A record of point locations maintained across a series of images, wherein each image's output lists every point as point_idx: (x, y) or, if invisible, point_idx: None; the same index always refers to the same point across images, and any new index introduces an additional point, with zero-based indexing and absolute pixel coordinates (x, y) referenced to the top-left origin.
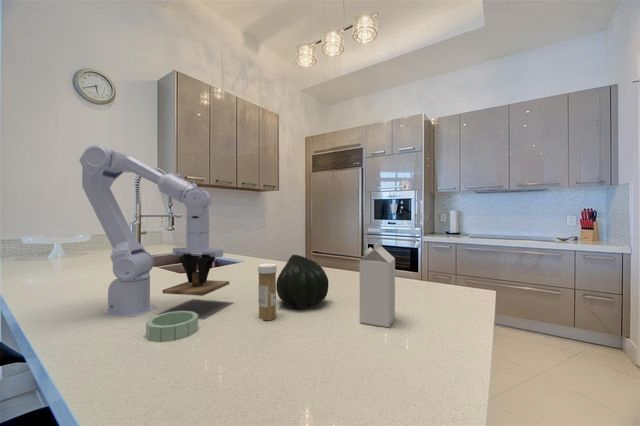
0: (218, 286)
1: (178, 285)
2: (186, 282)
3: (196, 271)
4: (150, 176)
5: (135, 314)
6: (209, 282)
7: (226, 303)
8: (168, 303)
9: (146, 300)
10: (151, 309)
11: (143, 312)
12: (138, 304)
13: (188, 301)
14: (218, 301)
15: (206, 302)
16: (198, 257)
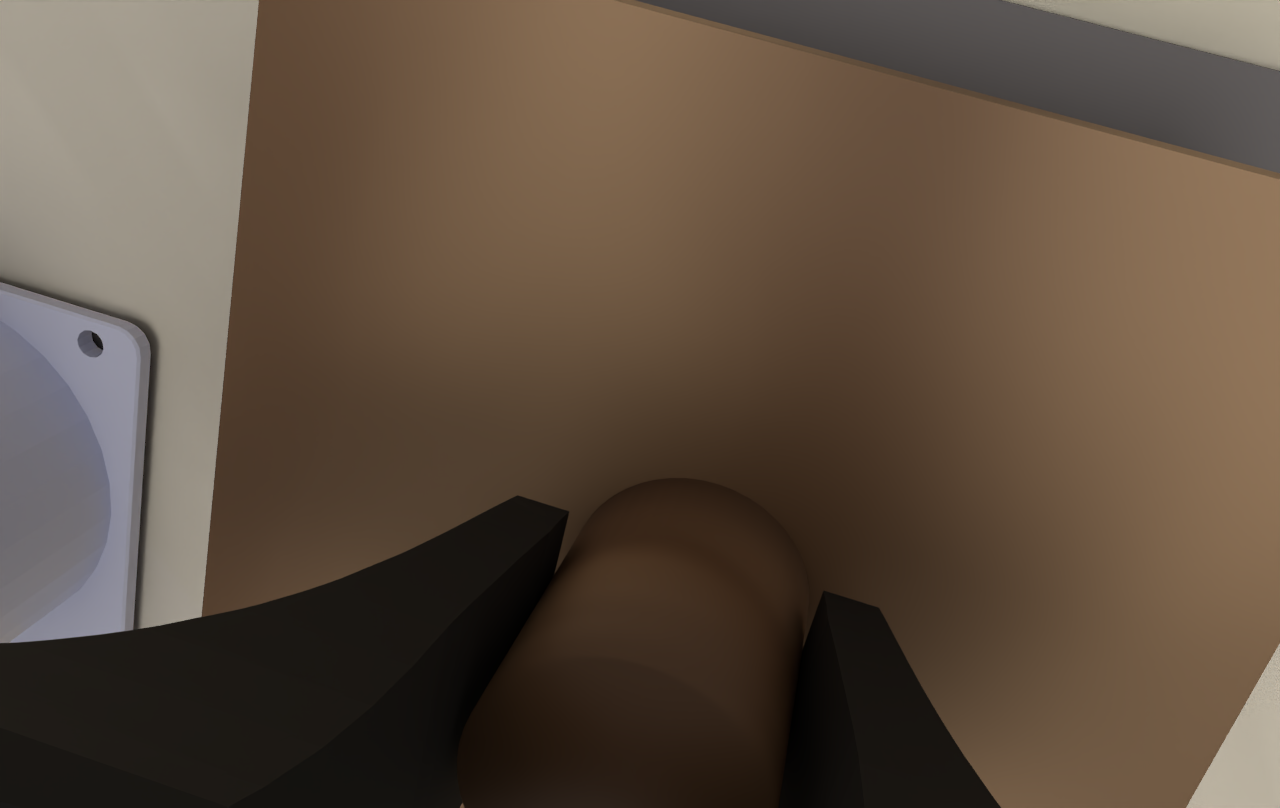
0: (1233, 704)
1: (263, 526)
2: (270, 251)
3: (531, 689)
4: None
5: (95, 631)
6: (883, 329)
7: (1206, 152)
8: (128, 57)
9: (11, 563)
10: (136, 453)
11: (126, 561)
12: (7, 637)
13: None
14: (1005, 15)
15: None
16: (255, 805)
